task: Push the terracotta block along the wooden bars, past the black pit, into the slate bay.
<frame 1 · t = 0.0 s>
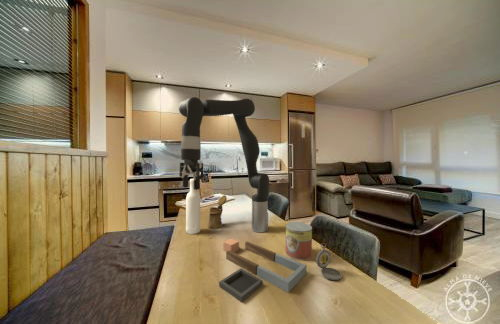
hand: (190, 188, 75), 29 cm above the table, tool pointing down, fingers open, 8 cm apart
slate bay: (280, 273, 67), on the table
pocket watch: (328, 274, 67), on the table
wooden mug: (217, 225, 116), on the table
wooden bars: (251, 259, 76), on the table
terracotta block: (231, 250, 84), on the table
canned food: (298, 253, 81), on the table
black pit: (241, 285, 60), on the table
bottle: (193, 231, 105), on the table
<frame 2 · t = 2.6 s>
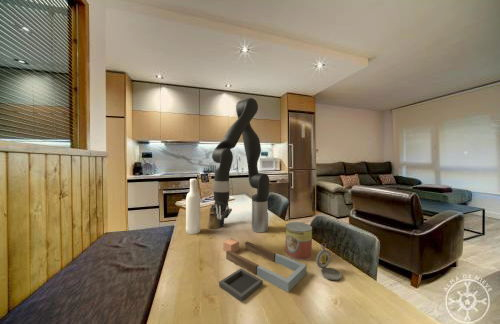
hand: (220, 226, 88), 9 cm above the table, tool pointing down, fingers closed
nothing on the table moved.
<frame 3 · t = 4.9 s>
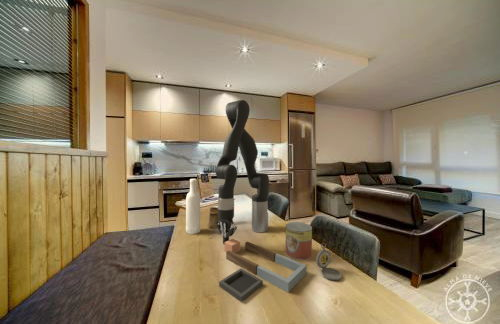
hand: (225, 244, 86), 2 cm above the table, tool pointing down, fingers closed
terracotta block: (232, 250, 83), on the table, touching gripper
everything else where it was.
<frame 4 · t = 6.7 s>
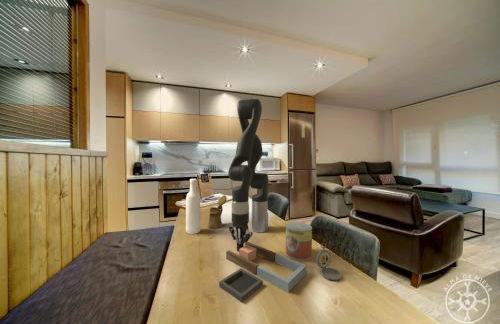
hand: (240, 250, 80), 2 cm above the table, tool pointing down, fingers closed
terracotta block: (247, 258, 77), on the table, touching gripper
everything else where it was.
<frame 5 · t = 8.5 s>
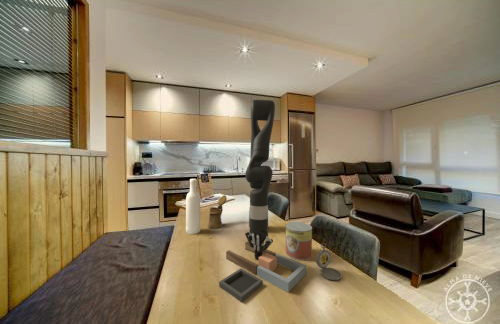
hand: (258, 259, 73), 2 cm above the table, tool pointing down, fingers closed
terracotta block: (267, 267, 70), on the table, touching gripper
everything else where it was.
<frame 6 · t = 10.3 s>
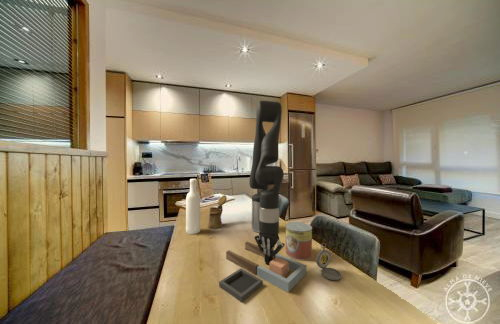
hand: (268, 264, 70), 1 cm above the table, tool pointing down, fingers closed
terracotta block: (278, 273, 67), on the table, touching gripper
everything else where it was.
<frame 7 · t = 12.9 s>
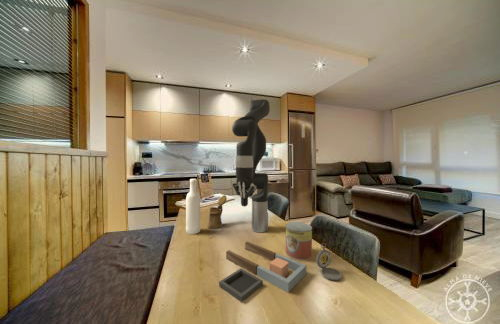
hand: (244, 205, 81), 21 cm above the table, tool pointing down, fingers closed
terracotta block: (279, 273, 67), on the table
everything else where it was.
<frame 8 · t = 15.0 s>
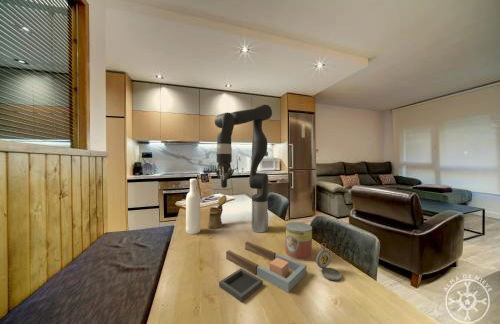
hand: (224, 187, 93), 27 cm above the table, tool pointing down, fingers closed
nothing on the table moved.
at the end: terracotta block inside the target area (0.9 cm from its centre), on the table; terracotta block tilted 0°; terracotta block touching table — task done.
